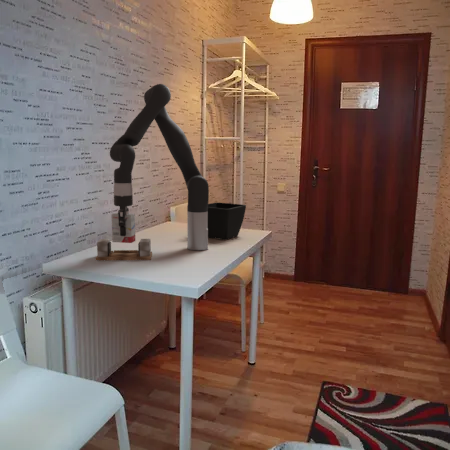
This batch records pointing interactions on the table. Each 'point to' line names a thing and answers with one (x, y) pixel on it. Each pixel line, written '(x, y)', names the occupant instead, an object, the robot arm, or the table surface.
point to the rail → (123, 251)
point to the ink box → (129, 229)
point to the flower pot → (225, 220)
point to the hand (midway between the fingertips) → (124, 234)
